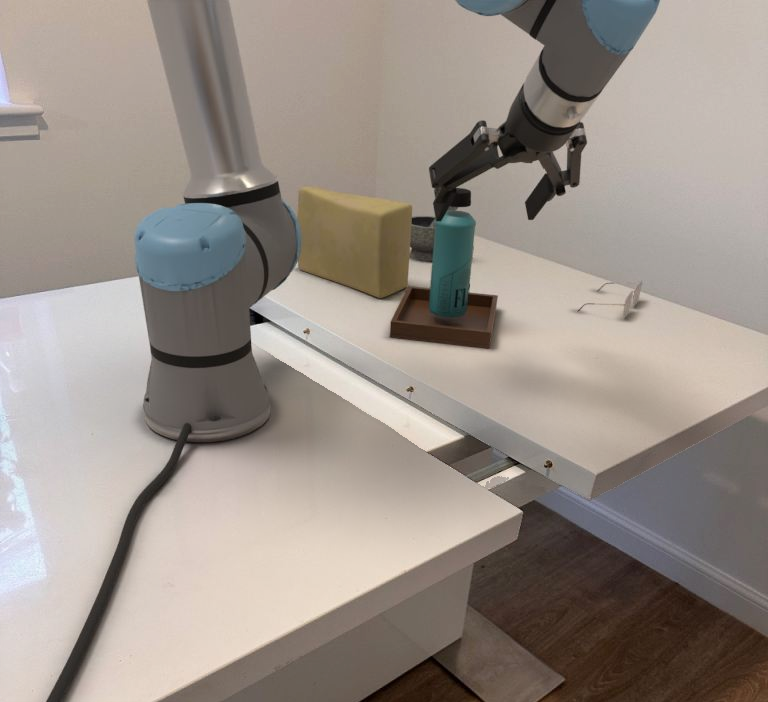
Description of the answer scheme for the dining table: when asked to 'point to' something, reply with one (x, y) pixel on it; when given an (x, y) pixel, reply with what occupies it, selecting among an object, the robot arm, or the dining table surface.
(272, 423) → the dining table surface
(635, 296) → the eyeglasses
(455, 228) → the beverage bottle
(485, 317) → the tray
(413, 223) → the mortar and pestle
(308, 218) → the cheese
